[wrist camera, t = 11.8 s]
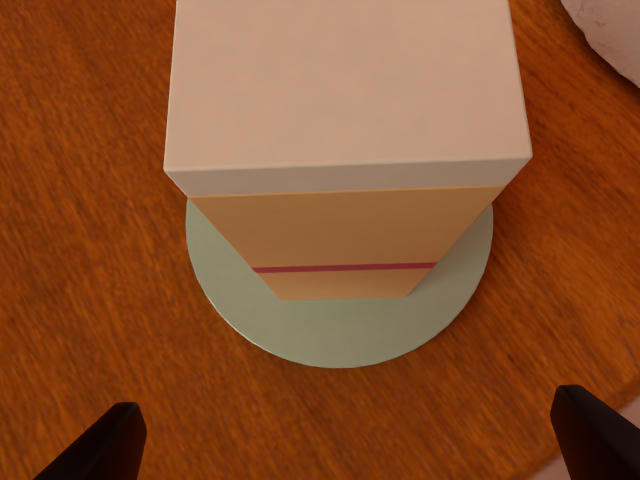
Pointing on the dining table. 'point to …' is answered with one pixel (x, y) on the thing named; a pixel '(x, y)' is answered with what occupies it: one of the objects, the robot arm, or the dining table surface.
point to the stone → (611, 31)
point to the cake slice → (344, 133)
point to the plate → (336, 302)
